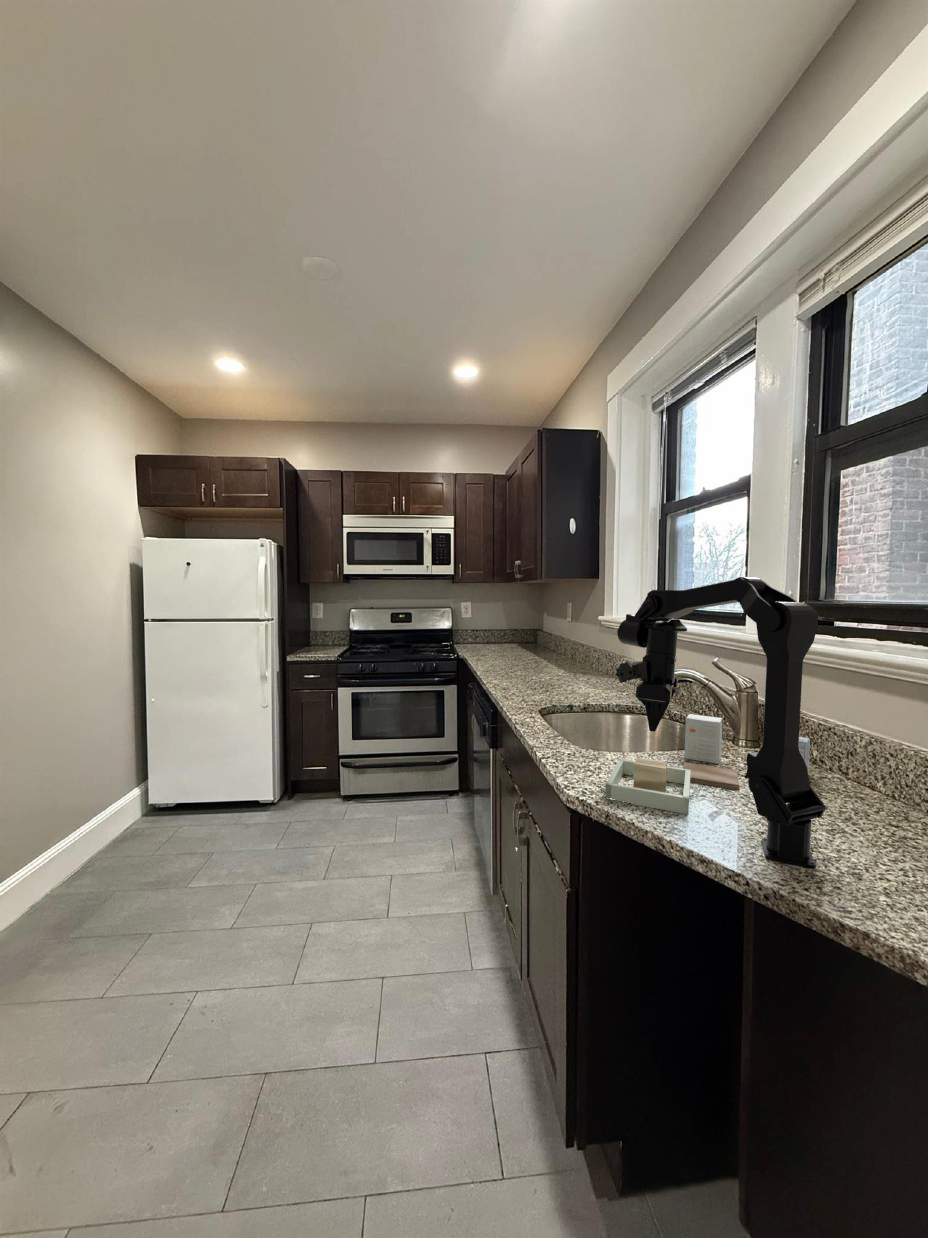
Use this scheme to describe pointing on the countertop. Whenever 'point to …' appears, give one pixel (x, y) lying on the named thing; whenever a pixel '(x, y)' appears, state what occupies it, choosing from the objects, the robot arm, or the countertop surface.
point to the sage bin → (649, 796)
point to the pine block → (650, 774)
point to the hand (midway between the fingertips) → (655, 725)
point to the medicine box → (805, 750)
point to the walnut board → (713, 775)
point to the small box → (703, 738)
